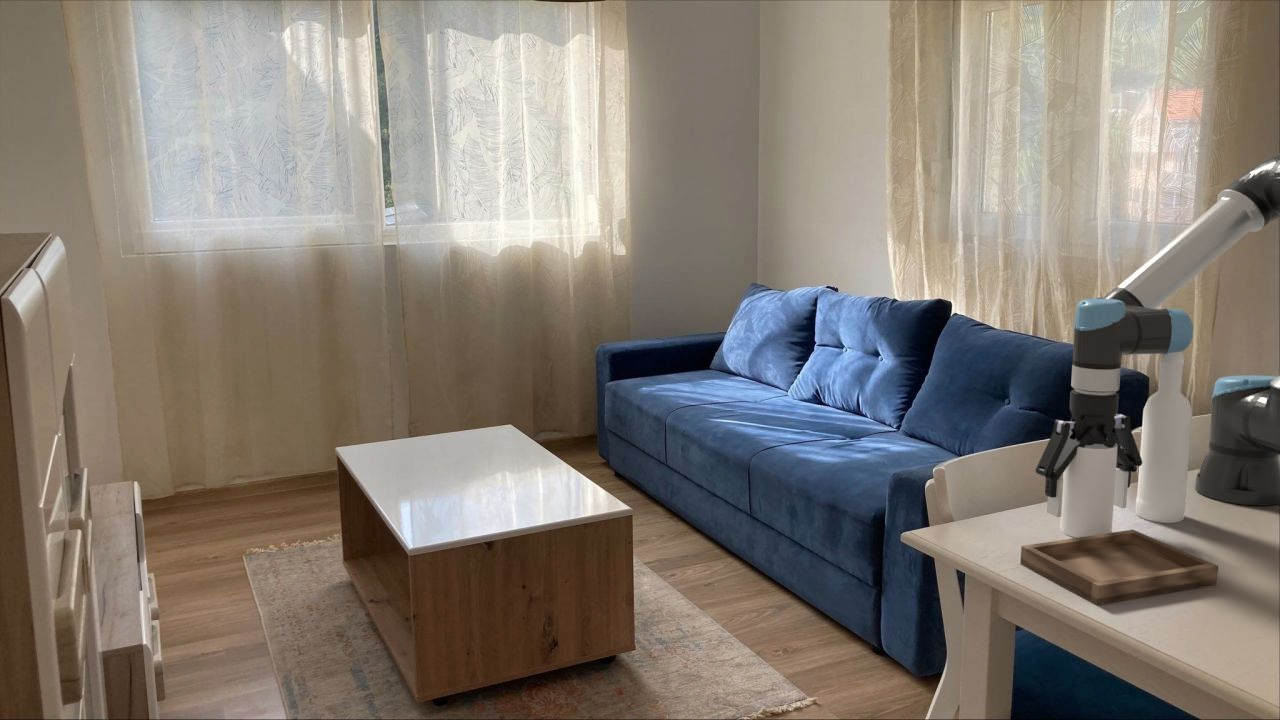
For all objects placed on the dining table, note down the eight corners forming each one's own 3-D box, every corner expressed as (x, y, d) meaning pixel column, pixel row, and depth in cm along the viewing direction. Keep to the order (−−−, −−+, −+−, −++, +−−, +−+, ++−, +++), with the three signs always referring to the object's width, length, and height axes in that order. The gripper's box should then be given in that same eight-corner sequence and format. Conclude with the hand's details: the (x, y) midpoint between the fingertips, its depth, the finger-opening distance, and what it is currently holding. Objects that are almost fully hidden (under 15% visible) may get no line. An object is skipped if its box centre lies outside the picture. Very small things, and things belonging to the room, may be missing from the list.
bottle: (1194, 522, 181) (1208, 356, 176) (1153, 525, 180) (1166, 358, 175) (1165, 507, 189) (1177, 348, 183) (1126, 510, 188) (1137, 350, 182)
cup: (1116, 541, 172) (1123, 449, 170) (1065, 538, 174) (1070, 448, 171) (1105, 525, 180) (1111, 437, 178) (1055, 522, 182) (1060, 435, 179)
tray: (1131, 546, 170) (1132, 529, 169) (1216, 584, 154) (1218, 565, 153) (1020, 563, 163) (1021, 545, 163) (1097, 605, 147) (1098, 585, 147)
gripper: (1137, 380, 180) (1128, 496, 184) (1018, 391, 173) (1011, 511, 176) (1170, 389, 173) (1161, 508, 177) (1048, 400, 166) (1040, 525, 169)
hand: (1086, 510), depth 177 cm, fingers open, 13 cm apart
